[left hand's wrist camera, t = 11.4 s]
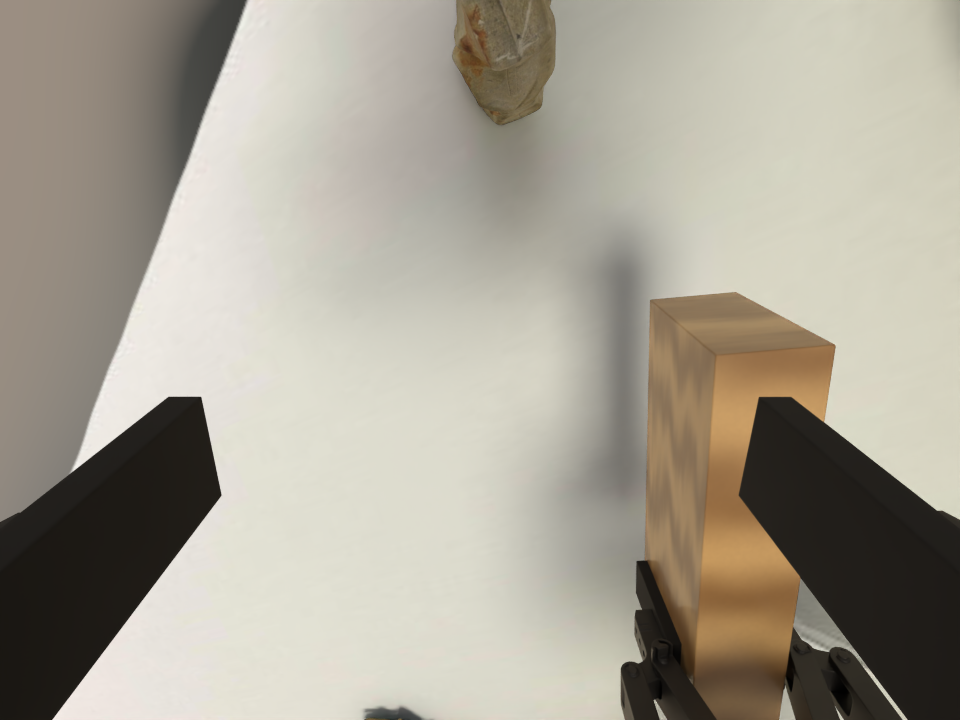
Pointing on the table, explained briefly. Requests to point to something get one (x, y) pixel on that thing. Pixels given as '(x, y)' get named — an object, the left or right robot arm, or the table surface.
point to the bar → (722, 490)
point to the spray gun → (379, 719)
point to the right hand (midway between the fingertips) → (683, 574)
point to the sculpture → (505, 54)
